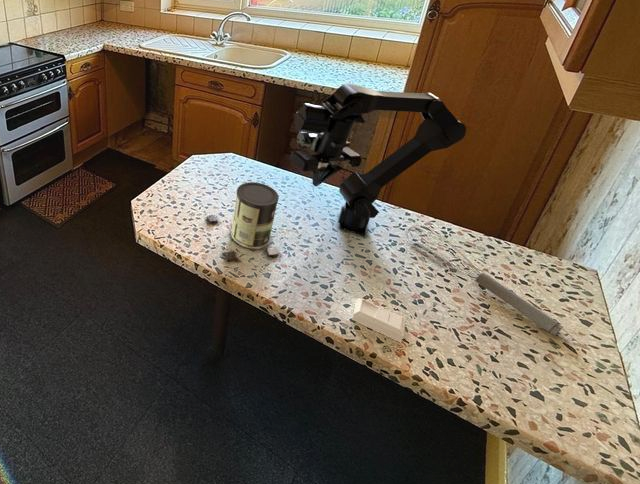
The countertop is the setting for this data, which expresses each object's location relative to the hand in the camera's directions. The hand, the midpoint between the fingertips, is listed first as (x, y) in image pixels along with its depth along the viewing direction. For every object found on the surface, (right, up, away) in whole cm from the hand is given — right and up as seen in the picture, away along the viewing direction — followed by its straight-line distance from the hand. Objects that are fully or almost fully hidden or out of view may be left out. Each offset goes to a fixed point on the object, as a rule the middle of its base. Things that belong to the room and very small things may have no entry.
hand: (314, 185), depth 107 cm
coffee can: (-17, -14, +2) cm, 22 cm away
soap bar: (+3, -26, -22) cm, 34 cm away
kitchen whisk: (+32, -21, -12) cm, 40 cm away
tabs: (-20, -14, +1) cm, 24 cm away
